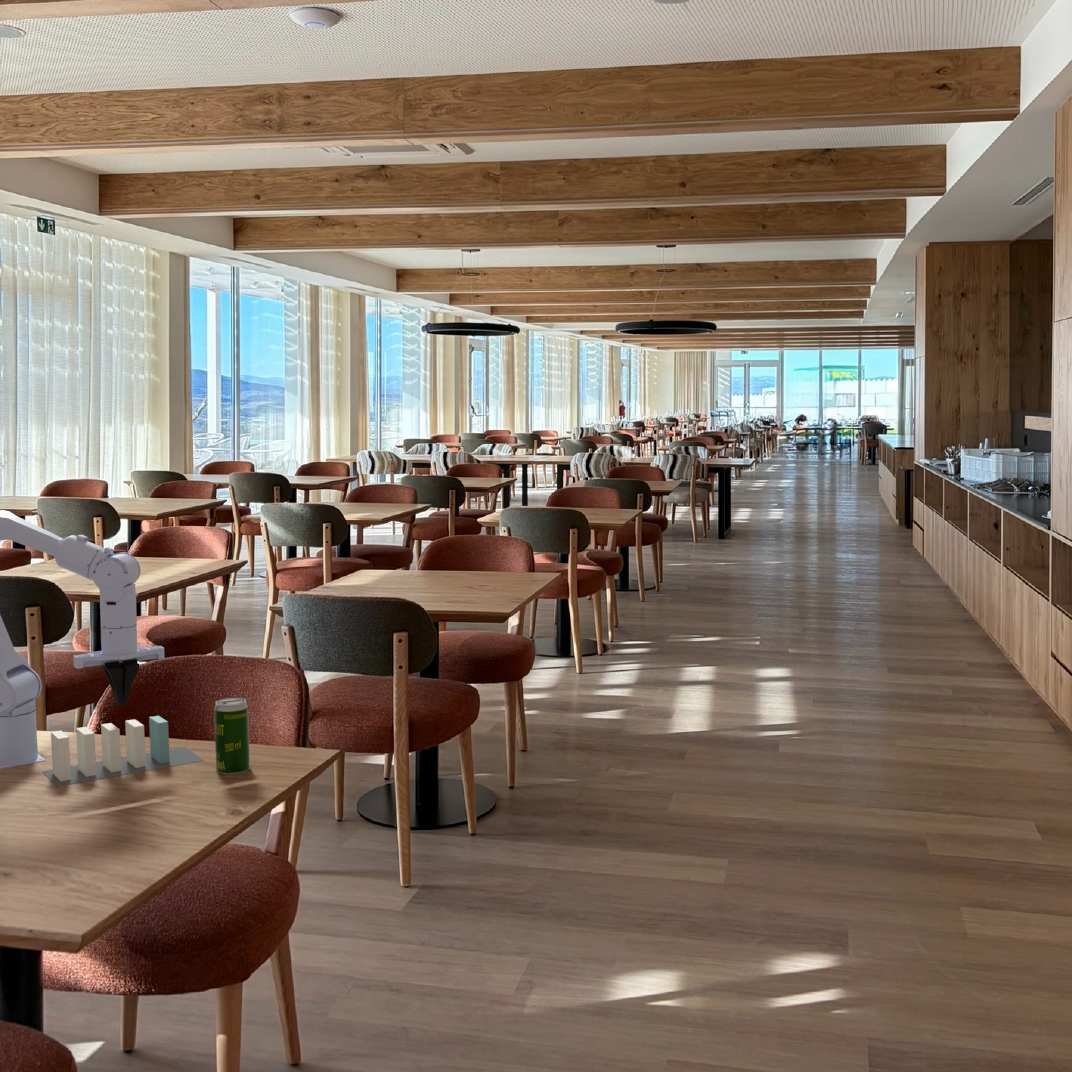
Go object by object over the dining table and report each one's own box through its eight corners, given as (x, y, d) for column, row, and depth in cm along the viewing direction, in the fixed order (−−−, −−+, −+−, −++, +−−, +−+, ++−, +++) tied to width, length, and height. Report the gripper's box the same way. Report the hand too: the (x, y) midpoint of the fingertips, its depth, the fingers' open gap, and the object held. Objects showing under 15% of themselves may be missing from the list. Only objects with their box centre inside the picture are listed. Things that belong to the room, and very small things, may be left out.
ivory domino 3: (111, 772, 193) (109, 730, 193) (102, 765, 197) (101, 724, 197) (121, 770, 194) (119, 729, 194) (112, 763, 198) (110, 722, 198)
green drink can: (242, 765, 198) (239, 696, 197) (255, 773, 194) (253, 702, 193) (211, 771, 195) (208, 700, 194) (224, 779, 191) (221, 707, 190)
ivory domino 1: (60, 781, 189) (58, 738, 188) (52, 773, 193) (50, 732, 192) (70, 779, 190) (68, 737, 189) (63, 771, 194) (61, 730, 193)
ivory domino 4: (135, 768, 196) (134, 726, 195) (127, 760, 200) (125, 720, 199) (145, 766, 197) (143, 725, 196) (136, 759, 201) (134, 719, 200)
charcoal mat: (41, 774, 194) (41, 771, 194) (184, 749, 208) (184, 747, 208) (56, 789, 186) (56, 786, 186) (204, 763, 200) (204, 760, 200)
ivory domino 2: (86, 776, 191) (84, 734, 190) (78, 769, 195) (76, 728, 194) (96, 775, 192) (94, 733, 191) (88, 767, 196) (86, 726, 195)
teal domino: (160, 763, 198) (158, 723, 197) (150, 756, 202) (149, 717, 201) (169, 762, 199) (168, 721, 198) (160, 755, 203) (158, 715, 202)
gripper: (80, 633, 190) (83, 716, 191) (169, 624, 198) (171, 703, 200) (69, 627, 196) (72, 707, 197) (156, 618, 204) (158, 695, 206)
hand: (121, 704), depth 199 cm, fingers closed
